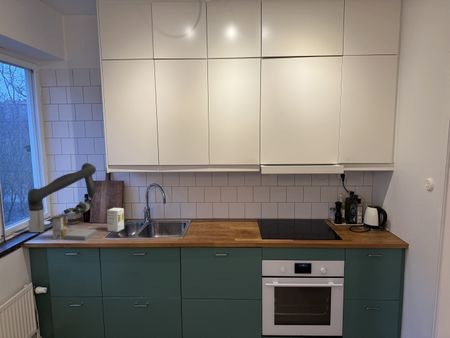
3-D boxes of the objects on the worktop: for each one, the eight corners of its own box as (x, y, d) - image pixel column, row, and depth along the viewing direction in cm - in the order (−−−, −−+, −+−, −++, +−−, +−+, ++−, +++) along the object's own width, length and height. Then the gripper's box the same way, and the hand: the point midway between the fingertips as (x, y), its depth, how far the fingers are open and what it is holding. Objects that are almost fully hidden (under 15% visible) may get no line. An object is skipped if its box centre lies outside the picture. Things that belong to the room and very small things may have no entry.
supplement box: (117, 232, 221) (117, 210, 219) (107, 231, 222) (106, 210, 221) (124, 228, 230) (124, 208, 228) (114, 227, 232) (113, 207, 230)
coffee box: (60, 235, 211) (59, 214, 210) (69, 235, 211) (68, 214, 210) (52, 239, 202) (51, 217, 201) (61, 239, 202) (60, 217, 200)
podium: (64, 239, 202) (63, 235, 202) (77, 232, 218) (77, 228, 218) (85, 240, 201) (85, 236, 201) (97, 233, 217) (97, 229, 217)
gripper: (74, 203, 233) (61, 208, 217) (90, 203, 232) (78, 208, 216) (74, 211, 234) (61, 217, 218) (91, 212, 233) (79, 217, 217)
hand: (70, 213), depth 217 cm, fingers open, 8 cm apart
